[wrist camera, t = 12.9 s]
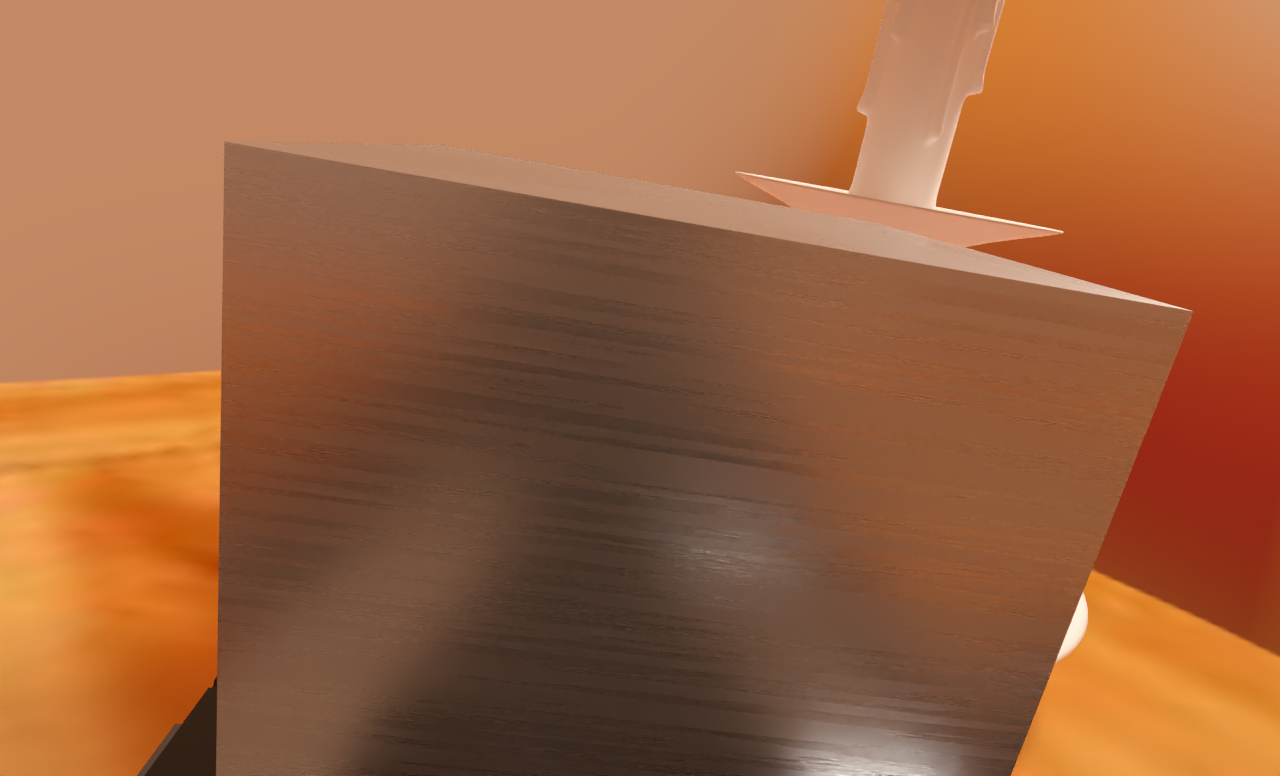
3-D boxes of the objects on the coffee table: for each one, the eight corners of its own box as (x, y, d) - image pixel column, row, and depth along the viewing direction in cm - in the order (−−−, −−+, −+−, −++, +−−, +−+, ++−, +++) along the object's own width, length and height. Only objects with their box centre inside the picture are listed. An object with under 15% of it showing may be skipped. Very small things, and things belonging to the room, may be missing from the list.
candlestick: (1143, 597, 36) (1428, -71, 27) (906, 902, 18) (1501, -700, 10) (784, 435, 49) (903, -49, 41) (445, 521, 31) (532, -302, 23)
